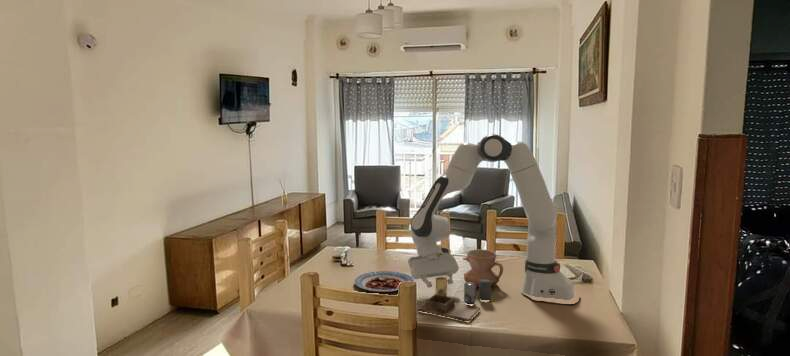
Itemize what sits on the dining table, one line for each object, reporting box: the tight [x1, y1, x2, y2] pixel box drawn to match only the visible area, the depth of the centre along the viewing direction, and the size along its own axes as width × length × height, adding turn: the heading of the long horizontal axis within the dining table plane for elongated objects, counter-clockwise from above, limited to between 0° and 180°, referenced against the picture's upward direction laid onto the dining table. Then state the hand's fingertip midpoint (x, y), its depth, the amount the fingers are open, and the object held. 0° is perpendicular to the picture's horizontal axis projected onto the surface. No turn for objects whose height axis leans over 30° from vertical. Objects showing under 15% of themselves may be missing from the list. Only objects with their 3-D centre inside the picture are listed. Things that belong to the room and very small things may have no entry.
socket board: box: [417, 293, 481, 322], centre depth 181 cm, size 20×12×4 cm, turn 61°
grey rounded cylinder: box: [478, 279, 492, 300], centre depth 191 cm, size 4×4×8 cm
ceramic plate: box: [354, 270, 415, 293], centre depth 211 cm, size 26×26×3 cm
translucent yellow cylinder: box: [435, 276, 448, 297], centre depth 194 cm, size 4×4×8 cm
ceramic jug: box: [462, 249, 504, 288], centre depth 209 cm, size 18×14×14 cm
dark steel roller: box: [463, 281, 477, 304], centre depth 188 cm, size 4×4×8 cm
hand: (440, 285), depth 194 cm, fingers open, 8 cm apart
